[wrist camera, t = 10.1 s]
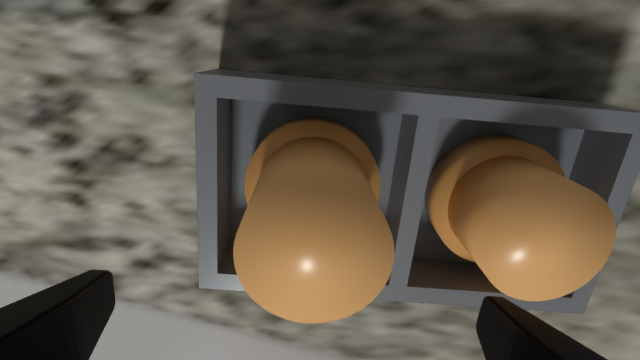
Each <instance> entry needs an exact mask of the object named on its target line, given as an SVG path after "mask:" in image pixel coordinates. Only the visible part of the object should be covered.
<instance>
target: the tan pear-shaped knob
mask: <svg viewBox="0 0 640 360" xmlns="http://www.w3.org/2000/svg"><path fill="white" fill-rule="evenodd" d="M380 188H381V183H380V174H379V170H378V167H377V164H376V161H375V159H374V157H373V155H372V154H371V152H370V150H369V149H368V147H367V145H366V144H365V142H364V141H363V140H362V138H361V137H360V136H359V135H358V134H357V133H356V132H355V131H354V130H352V129H351V128H350V127H348V126H347V125H345V124H343V123H341V122H339V121H337V120H334V119H331V118H327V117H322V116H303V117H298V118H294V119H291V120H288V121H286V122H284V123H282V124H280V125H278V126H277V127H275V128H274V129H273V130H271V131H270V132H269V133H268V134H267V135H266V136H265V137H264V138H263V140H262V141H261V142H260V144H259V145H258V147H257V149H256V151H255V153H254V154H253V156H252V158H251V160H250V162H249V165H248V167H247V171H246V175H245V196H246V201H247V204H248V206H247V208H246V211H245V213H244V216H243V218H242V221H241V223H240V226H239V228H238V231H237V233H236V237H235V241H234V248H233V258H234V266H235V270H236V273H237V276H238V278H239V281H240V283H241V284H242V286H243V288H244V289H245V291H246V292H247V293H248V295H249V296H250V297H251V298H252V299H253V300H254V301H255V302H256V303H257V304H259V305H260V306H261V307H262V308H264V309H265V310H267V311H269V312H270V313H272V314H274V315H276V316H279V317H281V318H284V319H287V320H290V321H295V322H301V323H325V322H331V321H336V320H339V319H342V318H345V317H348V316H350V315H352V314H354V313H356V312H358V311H359V310H361V309H363V308H364V307H365V306H367V305H368V304H369V303H370V302H372V301H373V300H374V299H375V298H376V297H377V296H378V294H379V293H380V292H381V290H382V289H383V288H384V286H385V284H386V283H387V281H388V279H389V276H390V274H391V271H392V267H393V263H394V254H395V252H394V241H393V236H392V233H391V230H390V228H389V225H388V223H387V221H386V218H385V216H384V214H383V212H382V210H381V207H380V205H379V203H378V201H379V197H380Z"/></svg>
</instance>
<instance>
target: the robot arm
mask: <svg viewBox="0 0 640 360" xmlns="http://www.w3.org/2000/svg"><path fill="white" fill-rule="evenodd" d="M114 306H115V292H114V283H113V276H112V273H111V272H110V271H107V270H89V271H87V272H85V273H82V274H80V275H78V276H75V277H73V278H71V279H68V280H66V281H63V282H61V283H59V284H56V285H54V286H52V287H49V288H47V289H45V290H42V291H40V292H37V293H35V294H33V295H30V296H28V297H26V298H23V299H21V300H19V301H16V302H14V303H11V304H9V305H7V306H5V307H2V308H0V360H89V358H90V356H91V354H92V352H93V350H94V348H95V346H96V344H97V342H98V340H99V338H100V336H101V334H102V332H103V330H104V327H105V326H106V324H107V322H108V320H109V318H110V316H111V314H112V312H113V310H114ZM476 330H477V335H478V338H479V341H480V344H481V347H482V350H483V353H484V356H485V359H486V360H607V359H605V358H604V357H602V356H600V355H599V354H597V353H595V352H594V351H592V350H590V349H589V348H587V347H586V346H584V345H582V344H581V343H579V342H577V341H576V340H574V339H572V338H571V337H569V336H567V335H566V334H564V333H562V332H561V331H559V330H557V329H556V328H554V327H552V326H551V325H549V324H547V323H546V322H544V321H542V320H541V319H539V318H537V317H536V316H534V315H532V314H531V313H529V312H527V311H526V310H524V309H522V308H521V307H519V306H517V305H516V304H514V303H512V302H511V301H509V300H507V299H506V298H504V297H501V296H486V297H484V299H483V301H482V304H481V308H480V311H479V315H478V319H477V323H476Z"/></svg>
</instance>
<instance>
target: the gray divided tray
mask: <svg viewBox="0 0 640 360" xmlns="http://www.w3.org/2000/svg"><path fill="white" fill-rule="evenodd" d="M194 93H195V135H196V177H197V219H198V261H199V288H207V289H222V290H237V291H245V289H244V288H243V286H242V284H241V283H240V281H239V278H238V276H237V273H236V270H235V266H234V258H233V248H234V241H235V237H236V233H237V231H238V228H239V226H240V223H241V221H242V218H243V216H244V213H245V211H246V208H247V206H248V204H247V201H246V196H245V175H246V171H247V167H248V165H249V162H250V160H251V158H252V156H253V154H254V153H255V151H256V149H257V147H258V145H259V144H260V142H261V141H262V140H263V138H264V137H265V136H266V135H267V134H268V133H269V132H270V131H271V130H273V129H274V128H275V127H277V126H278V125H280V124H282V123H284V122H286V121H288V120H291V119H294V118H298V117H303V116H322V117H327V118H331V119H334V120H337V121H339V122H341V123H343V124H345V125H347V126H348V127H350V128H351V129H352V130H354V131H355V132H356V133H357V134H358V135H359V136H360V137H361V138H362V140H363V141H364V142H365V144H366V145H367V147H368V149H369V150H370V152H371V154H372V155H373V157H374V159H375V161H376V164H377V167H378V170H379V174H380V183H381V188H380V197H379V201H378V203H379V205H380V207H381V210H382V212H383V214H384V216H385V218H386V221H387V223H388V225H389V228H390V230H391V233H392V236H393V241H394V252H395V254H394V263H393V267H392V271H391V274H390V276H389V279H388V281H387V283H386V284H385V286H384V288H383V289H382V290H381V292H380V293H379V294H378V296H377V297H376V298H375V299H374V300H385V301H400V302H415V303H430V304H444V305H459V306H474V307H481V304H482V301H483V299H484V297H486V296H501V297H504V298H506V299H507V300H509V301H511V302H512V303H514V304H516V305H517V306H519V307H521V308H522V309H524V310H534V311H548V312H563V313H578V314H584V311H585V308H586V306H587V303H588V301H589V298H590V296H591V293H592V291H593V288H594V285H595V283H596V280H597V278H598V275H599V273H600V270H601V268H602V267H603V266H604V265H605V263H606V261H607V260H608V258H609V256H610V254H611V252H612V249H613V246H614V243H615V237H616V229H617V227H618V224H619V222H620V219H621V216H622V214H623V211H624V209H625V206H626V204H627V201H628V198H629V196H630V193H631V191H632V188H633V186H634V183H635V181H636V178H637V175H638V173H639V170H640V111H637V110H632V109H627V108H621V107H616V106H610V105H605V104H599V103H593V102H581V101H570V100H559V99H548V98H537V97H526V96H515V95H504V94H493V93H482V92H470V91H459V90H448V89H437V88H426V87H415V86H404V85H393V84H382V83H371V82H359V81H348V80H337V79H326V78H315V77H304V76H293V75H282V74H271V73H260V72H248V71H237V70H226V69H214V70H209V71H203V72H197V73H194Z"/></svg>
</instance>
